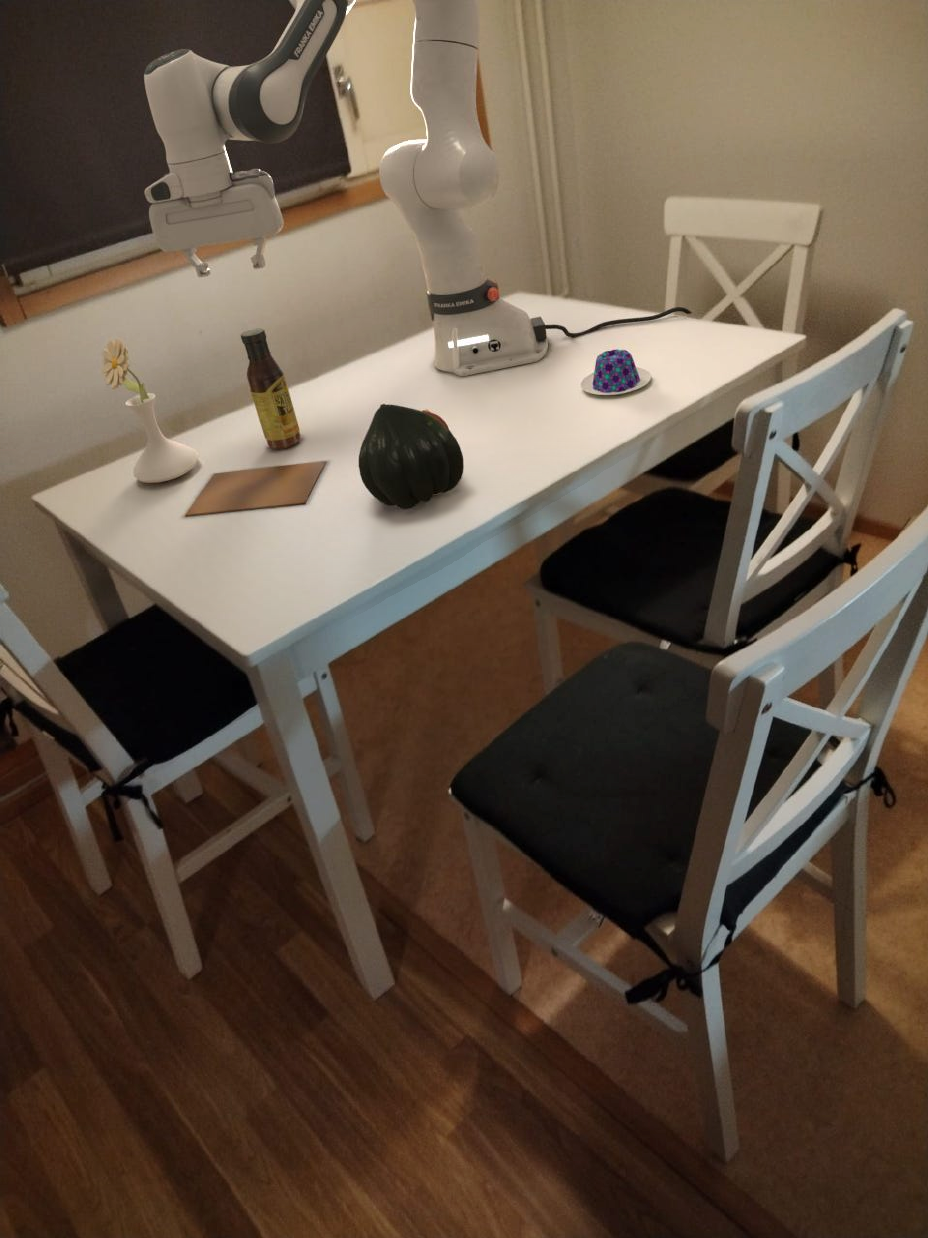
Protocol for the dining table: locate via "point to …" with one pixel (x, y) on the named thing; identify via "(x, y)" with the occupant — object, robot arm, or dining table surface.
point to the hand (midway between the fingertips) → (232, 271)
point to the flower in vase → (147, 423)
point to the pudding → (615, 374)
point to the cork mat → (257, 488)
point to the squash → (408, 457)
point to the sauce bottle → (270, 392)
